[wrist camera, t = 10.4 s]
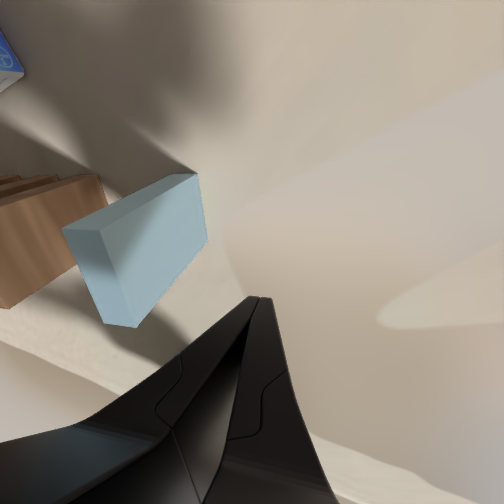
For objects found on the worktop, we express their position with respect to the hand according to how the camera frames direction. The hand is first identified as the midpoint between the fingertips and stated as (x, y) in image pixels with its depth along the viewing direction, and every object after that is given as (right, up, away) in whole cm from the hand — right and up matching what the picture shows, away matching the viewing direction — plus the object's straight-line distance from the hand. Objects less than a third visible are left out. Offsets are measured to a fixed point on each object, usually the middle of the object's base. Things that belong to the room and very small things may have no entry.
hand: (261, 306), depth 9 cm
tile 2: (-12, +5, +11) cm, 18 cm away
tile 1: (-5, +5, +10) cm, 12 cm away
